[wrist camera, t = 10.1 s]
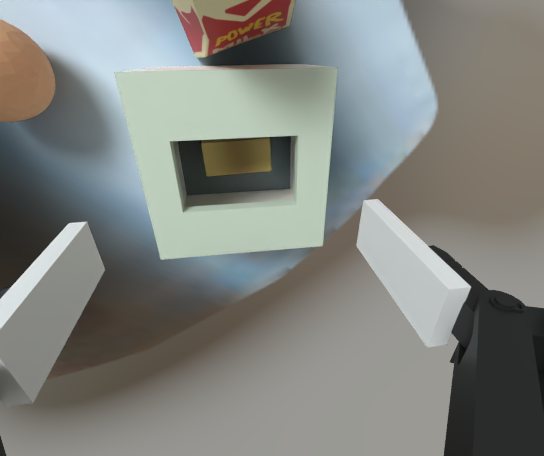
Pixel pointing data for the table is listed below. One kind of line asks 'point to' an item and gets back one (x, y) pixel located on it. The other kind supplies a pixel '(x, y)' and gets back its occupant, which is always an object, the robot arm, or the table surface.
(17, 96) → the egg
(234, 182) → the table surface
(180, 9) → the milk carton
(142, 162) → the coin box
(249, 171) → the cardboard box
